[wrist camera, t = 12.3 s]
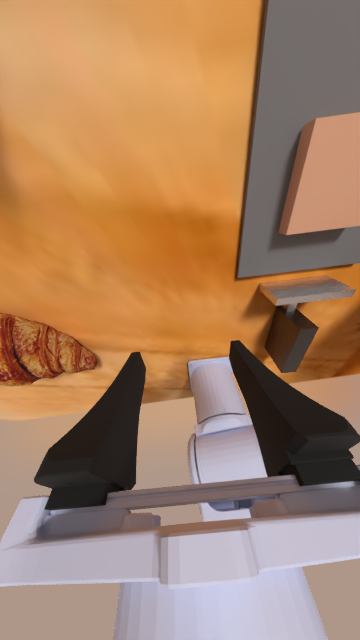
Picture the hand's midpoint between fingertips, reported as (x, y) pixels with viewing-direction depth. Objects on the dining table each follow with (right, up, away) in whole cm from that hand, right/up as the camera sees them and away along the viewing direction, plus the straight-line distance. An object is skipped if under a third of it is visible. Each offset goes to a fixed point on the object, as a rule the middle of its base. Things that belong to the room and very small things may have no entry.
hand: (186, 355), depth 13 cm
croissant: (-23, +1, +10) cm, 25 cm away
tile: (+13, +11, +3) cm, 17 cm away
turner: (+14, +3, +10) cm, 18 cm away
